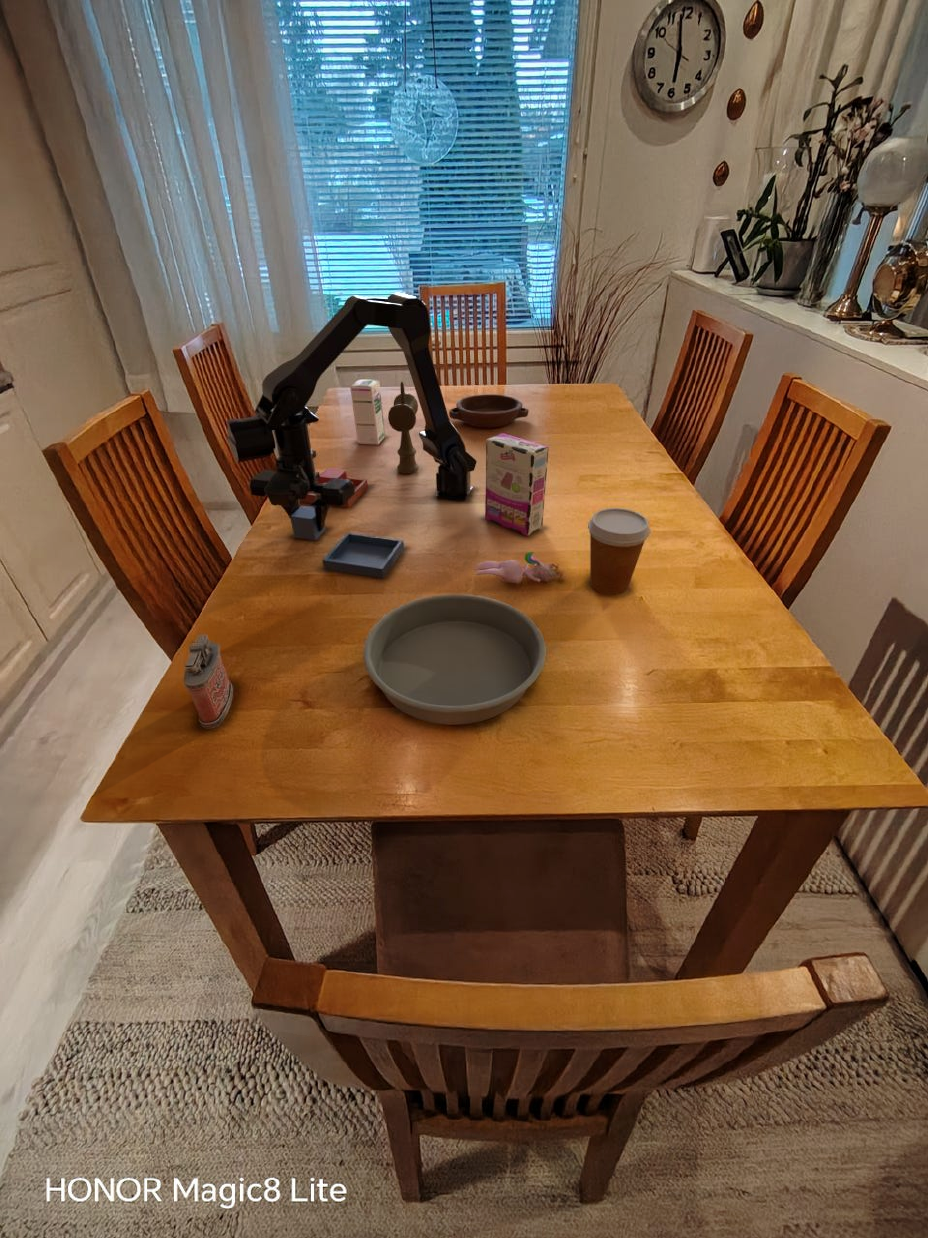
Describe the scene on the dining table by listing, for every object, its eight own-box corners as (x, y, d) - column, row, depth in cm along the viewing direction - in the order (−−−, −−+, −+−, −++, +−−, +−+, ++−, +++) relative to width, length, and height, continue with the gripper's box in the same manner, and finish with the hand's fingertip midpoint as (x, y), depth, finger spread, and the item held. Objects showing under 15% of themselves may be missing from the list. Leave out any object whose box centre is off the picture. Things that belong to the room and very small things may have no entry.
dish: (532, 431, 157) (533, 412, 154) (449, 432, 157) (449, 414, 154) (524, 410, 171) (525, 392, 168) (448, 411, 171) (448, 393, 167)
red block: (348, 489, 128) (346, 470, 125) (339, 498, 125) (336, 478, 122) (329, 487, 129) (326, 468, 126) (320, 496, 126) (317, 476, 123)
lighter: (212, 685, 80) (190, 627, 74) (237, 683, 80) (218, 625, 74) (195, 729, 74) (170, 670, 68) (223, 727, 74) (201, 668, 68)
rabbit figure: (551, 573, 104) (469, 570, 100) (560, 544, 100) (475, 539, 97) (562, 593, 99) (476, 590, 95) (571, 563, 96) (482, 559, 92)
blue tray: (404, 549, 108) (403, 539, 107) (383, 578, 101) (382, 568, 100) (348, 541, 111) (347, 532, 110) (323, 569, 103) (322, 559, 102)
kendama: (393, 479, 133) (384, 388, 121) (397, 462, 141) (390, 375, 129) (419, 479, 133) (414, 387, 121) (422, 462, 141) (417, 375, 129)
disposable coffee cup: (604, 607, 94) (615, 541, 86) (569, 578, 100) (576, 514, 93) (650, 591, 97) (665, 526, 90) (613, 564, 104) (624, 501, 96)
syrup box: (378, 445, 150) (372, 386, 141) (356, 443, 151) (349, 385, 142) (385, 437, 154) (380, 379, 146) (364, 435, 155) (357, 378, 147)
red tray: (368, 487, 130) (367, 479, 129) (348, 507, 122) (347, 499, 121) (322, 482, 132) (320, 474, 131) (300, 501, 125) (298, 493, 123)
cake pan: (573, 711, 76) (577, 686, 73) (384, 755, 70) (380, 729, 67) (508, 604, 94) (509, 580, 92) (354, 632, 89) (351, 608, 86)
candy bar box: (543, 528, 114) (550, 445, 105) (527, 537, 112) (533, 453, 102) (499, 510, 121) (502, 431, 111) (483, 518, 118) (484, 438, 108)
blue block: (326, 529, 115) (322, 508, 112) (315, 540, 111) (311, 519, 109) (305, 526, 116) (301, 505, 113) (294, 537, 112) (289, 516, 110)
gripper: (221, 461, 99) (243, 542, 109) (322, 473, 95) (335, 556, 105) (257, 438, 108) (274, 515, 117) (350, 448, 104) (360, 527, 113)
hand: (309, 528), depth 113 cm, fingers closed on blue block, 4 cm apart
